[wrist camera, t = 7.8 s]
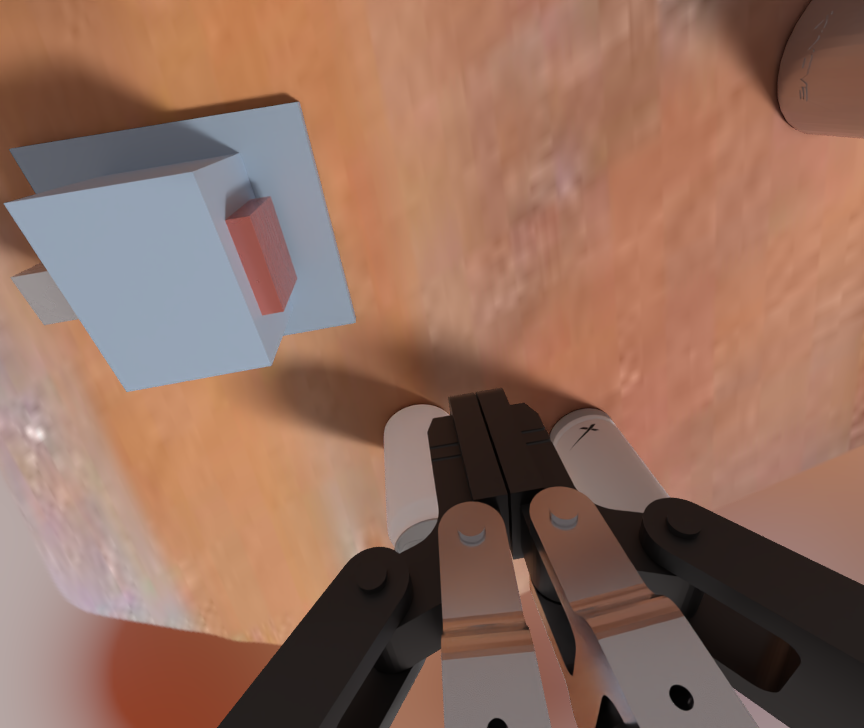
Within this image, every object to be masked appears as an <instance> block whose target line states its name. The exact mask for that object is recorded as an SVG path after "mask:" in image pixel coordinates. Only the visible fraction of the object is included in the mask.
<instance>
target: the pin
mask: <svg viewBox="0 0 864 728" xmlns="http://www.w3.org/2000/svg"><path fill="white" fill-rule="evenodd" d="M225 222H226V224H227V227H228V229H229V232H230V235H231V237H232V240H233V242H234V245H235V247H236V250H237V252H238V255H239V257H240V260H241V263H242V265H243V268H244V270H245V273H246V275H247V278H248V280H249V283H250V286H251V288H252V291H253V293H254V296H255V298H256V301H257V303H258V306H259V308H260V311H261V314H262V315H268V314H273V313H279V312H284V310H285V307H286V305H287V303H288V300H289V298H290V295H291V293H292V290H293V288H294V286H295V283H296V281H297V276H296V273H295V269H294V266H293V263H292V260H291V257H290V254H289V251H288V248H287V245H286V242H285V239H284V236H283V233H282V230H281V226H280V223H279V220H278V217H277V214H276V211H275V208H274V205H273V202H272V199H271V196H267V197H262V198H256V199H250V200H249V201H248V202H247V203H245V204H244V205H243V206H242V207H241V208H239V209H238V210H237V211H236V212H234V213H233V214H232V215H231V216H230V217H228V218H227V219H226V220H225ZM10 278H11V279H12V281H13V282H14V283H15V285H16V286H17V288H18V289H19V290H20V292H21V293H22V295H23V296H24V298H25V299H26V300H27V302H28V303H29V305H30V306H31V307H32V309H33V310H34V312H35V313H36V314H37V316H38V317H39V319H40V320H41V321H42V323H43V324H44V325H47V324H53V323H59V322H64V321H70V320H76V319H79V318H78V317H77V315H76V314H75V312H74V311H73V309H72V307H71V306H70V304H69V303H68V301H67V300H66V298H65V297H64V295H63V294H62V292H61V291H60V289H59V288H58V286H57V285H56V283H55V281H54V280H53V278H52V277H51V275H50V274H49V272H48V271H47V269H46V268H45V266H44V265H43V263H42V262H41V263H39V264H37V265H35V266H33V267H31V268H29V269H27V270H25V271H23V272H21V273H18V274H16V275H14V276H12V277H10Z"/></svg>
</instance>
